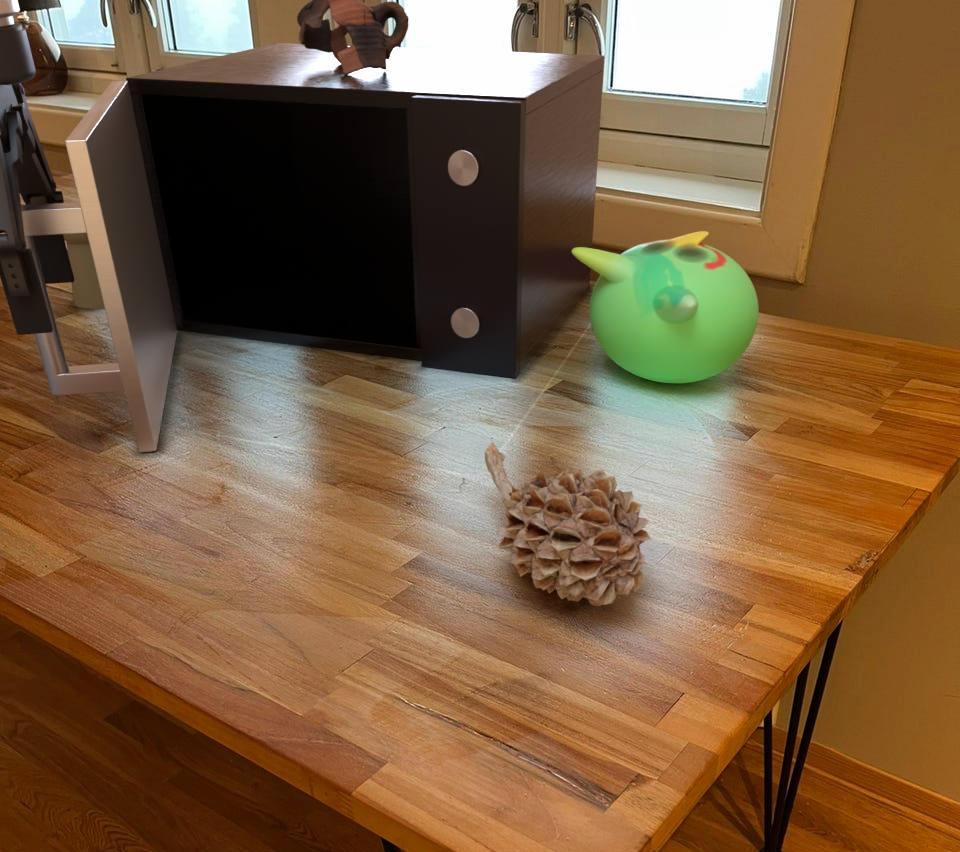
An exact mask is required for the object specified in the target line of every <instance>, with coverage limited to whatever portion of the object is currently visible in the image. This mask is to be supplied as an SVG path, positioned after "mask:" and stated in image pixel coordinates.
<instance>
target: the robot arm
mask: <svg viewBox="0 0 960 852" xmlns="http://www.w3.org/2000/svg"><path fill="white" fill-rule="evenodd" d="M20 11H21V8H20V5H19V0H0V281H1V286H2V289H3V292H4V295H5V298H6V301H7V305H8V309H9V312H10V314H11V318H12V321H13V325H14V328H15V331H16V335H17V336H20V335H21V336H22V335H23V336H24V335H35V334H38V333H52V331H53V328H52V324H51V320H50V317H49V313H48V309H47V306H46V302H45V299H44V295H43V291H42V288H41V284H40V280H39V277H38V273H37V270H36V266H35V262H34V259H33V255H32V251H31V249H26V247H27V246H26V242H25V235H24V227H23V218H22V209H21V205H22V201H23V203H24V205H35V204H56V203H65V200H64V195H63V192H62V190H57V183H56V181H55V179H54V177H53V173H52V171H51V168H50V165H49V162H48V160H47V156H46V154H45V151H44V149H43V145H42V143H41V140H40V137H39V135H38V134H39V133H38V132H37V129H36V125H35V123H34V120H33V117H32V115H31V112H30V109H29V105H28V102H27V98H26V91H25V88H24V87H23V84H24V83H27V82H29V81H31V80H33V79H34V78H35V77H36V73H37V72H36V71H37V70H36V65H35V63H34V62H35V61H34V57H33V55H32V54H33V53H32V49H31V47H30V42H29V38H28V34H27V29H26V28H25V27H23V25H22V24H21V23H20V22H15V21H14V16H18V15H19V13H20ZM21 198H22V201H21ZM5 233H7V234H5ZM32 237H33V241H34V244H35V248H36V252H37V255H38V259H39V262H40V266H41V270H42V273H43V277H44V281H45V284H46V285H52V284H68V283H69V284H70V283H71V282H74V280H75V279H74V275H73V272H72V268H71V264H70V260H69V256H68V250H67V243H66V241H65V240H64V236H63V234H57V235H37V236H32ZM71 284H72V283H71Z"/></svg>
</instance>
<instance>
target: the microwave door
mask: <svg viewBox="0 0 960 852" xmlns="http://www.w3.org/2000/svg"><path fill="white" fill-rule="evenodd" d="M64 144H65V148H66V153H67V157H68V161H69V165H70V169H71V174H72V177H73V181H74V186H75V190H76V193H77V198H78V202H64V203H56V204H35V205H26V204H21V209H22V218H23V227H24V235H25V242H26V246H27V247H26V249H31V251H32V255H33V259H34V262H35V266H36V270H37V273H38V277H39V280H40V284H41V288H42V291H43V295H44V299H45V302H46V306H47V309H48V313H49V317H50V320H51V324H52V328H53V331H52V333H38V334H34V337H35V341H36V344H37V347H38V352H39V354H40V358H41V361H42V365H43V368H44V369H43V370H44V372H45V375H46V378H47V382H48V386H49V389H50V392H51V394H52V395H53V396H74V395H85V394H98V393H99V394H101V393H115V392H124V394H125V398H126V401H127V406H128V411H129V415H130V419H131V425H132V427H133V431H134V436H135V440H136V443H137V444H136V445H137V448H138V452H139V453H146V452H157V450H158V444H159V438H160V432H161V427H162V422H163V415H164V409H165V408H164V407H165V405H166V404H165V403H166V397H167V391H168V386H169V380H170V375H171V370H172V363H173V356H174V353H175V346H176V340H177V335H178V331H177V329H176V324H175V319H174V314H173V309H172V304H171V299H170V293H169V288H168V283H167V278H166V273H165V268H164V263H163V258H162V253H161V248H160V243H159V238H158V233H157V228H156V222H155V217H154V212H153V207H152V202H151V197H150V192H149V187H148V182H147V177H146V172H145V167H144V162H143V157H142V152H141V146H140V141H139V136H138V131H137V126H136V121H135V116H134V111H133V106H132V101H131V96H130V91H129V86H128V81H126V80H112V81H111V82H110V83H109V84H108V86H107V87H106V88H105V90H104V91H103V92H102V93H101V95H100V96H99V97H98V98H97V99H96V101H95V102H94V104H93V105H92V106H91V107H90V109H89V110H88V111H87V112H86V114H85V115H84V116H83V117H82V118H81V120H80V121H79V123H78V124H77V125H76V126H75V128H74V129H73V130H72V132H71V133H70V134H69V135H68V136H67V138H66V139H65V140H64ZM76 233H87V236H88V240H89V244H90V248H91V253H92V257H93V261H94V265H95V269H96V274H97V278H98V282H99V286H100V290H101V294H102V299H103V303H104V307H103V308H104V310H105V315H106V320H107V324H108V327H109V328H108V329H109V333H110V336H111V339H112V344H113V348H114V352H115V356H116V360H117V362H111V363H110V362H109V363H95V364H84V365H83V364H81V365H72V366H71V365H69V364H68V362H67V357H66V354H65V351H64V347H63V343H62V340H61V336H60V332H59V328H58V325H57V320H56V318H55V314H54V310H53V307H52V303H51V299H50V296H49V293H48V289H47V284H45V281H44V277H43V273H42V270H41V266H40V262H39V259H38V255H37V252H36V248H35V244H34V241H33V237H32V236H37V235H57V234H76ZM4 234H7V233H4Z"/></svg>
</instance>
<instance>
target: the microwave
mask: <svg viewBox="0 0 960 852" xmlns="http://www.w3.org/2000/svg"><path fill="white" fill-rule="evenodd" d="M349 46H350V45H348V47H349ZM604 64H605V55H601V54H600V55H599V54H576V53H575V54H573V53H552V52H551V53H546V52H522V51H492V50H470V49H469V50H468V49H467V50H465V49H444V48H443V49H442V48H441V49H440V48H417V47H416V48H415V47H414V48H412V47H395V48H394V49H393V51H392V53H391V55H390V59H389V60H387V59H386V66H387V69H386V70H383V69H380V68H364V69H361V70H359V71H356V72H352V73H350V74H347V75H345V74H344V72H343V69H342V66H341V63H340V62H339V61H338V60H337V59H336V58H335V57H334V55H333V53H332V52H331V53H328V52H323V51H319V50H315V49H307V48H305V46H304V45H302V44H301V43H281V42H280V43H278V42H276V43H271V44H266V45H262V46H258V47H254V48H249V49H245V50H241V51H236V52H233V53H228V54H223V55H219V56H215V57H210V58H206V59H201V60H197V61H193V62H188V63H184V64H180V65H176V66H172V67H166V68H163V69H159V70H154V71H150V72H144V73H141V74H137V75H132V76H128V77H125V81H128V86H129V91H130V96H131V101H132V106H133V111H134V116H135V121H136V126H137V131H138V136H139V141H140V146H141V152H142V157H143V162H144V167H145V172H146V177H147V182H148V187H149V192H150V197H151V202H152V207H153V212H154V217H155V222H156V228H157V233H158V238H159V243H160V248H161V253H162V258H163V263H164V268H165V273H166V278H167V283H168V288H169V293H170V299H171V304H172V309H173V314H174V319H175V324H176V329H177V332H184V333H185V332H186V333H193V334H201V335H208V336H217V337H225V338H231V339H232V338H233V339H241V340H249V341H256V342H264V343H272V344H281V345H288V346H297V347H303V348H312V349H320V350H327V351H335V352H343V353H351V354H358V355H367V356H374V357H375V356H376V357H381V358H391V359H397V360H398V359H399V360H405V361H406V360H407V361H415V362H421V367H425V368H432V369H439V370H440V369H441V370H448V371H455V372H463V373H472V374H480V375H486V376H487V375H488V376H496V377H504V378H510V379H511V378H512V379H516V378H517V377H518V375H520V374H521V373H522V372H523V370H524V369H525V368H526V366H528V364H529V363H530V361H532V359H533V358H534V357H535V355H536V354H537V353H538V351H539V350H540V349H541V348H542V346H543V345H544V343H546V341H547V340H548V339H549V337H550V336H551V335H552V334H553V332H554V331H555V330H556V328H557V327H558V326H559V325H560V323H561V322H562V321H563V320H564V318H565V317H566V316H567V315H568V313H569V312H570V311H571V310H572V308H573V307H574V306H575V305H576V303H577V302H578V301H579V299H580V298H581V297H582V296H583V295H584V293H585V292H586V291H587V289H588V288H589V287H590V285H591V270H592V269H591V268H590V267H588V266H587V265H585V264H584V263H582V262H581V261H580V260H578V259H577V258H576V257H575V256H574V255H573V254H572V249H573V248H576V247H586V248H592V249H593V239H594V223H595V222H594V221H595V207H596V193H597V191H596V190H597V177H598V176H597V175H598V164H599V163H598V162H599V161H598V160H599V145H600V131H601V129H600V128H601V116H602V115H601V114H602V100H603V85H604V83H603V82H604V69H605V67H604V66H605V65H604Z"/></svg>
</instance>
